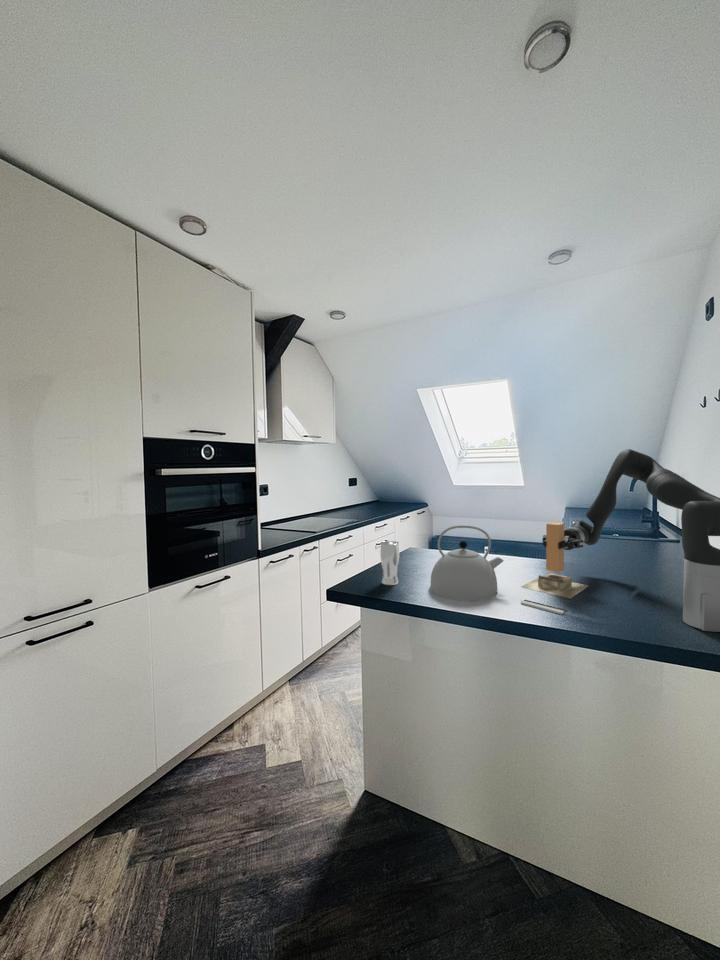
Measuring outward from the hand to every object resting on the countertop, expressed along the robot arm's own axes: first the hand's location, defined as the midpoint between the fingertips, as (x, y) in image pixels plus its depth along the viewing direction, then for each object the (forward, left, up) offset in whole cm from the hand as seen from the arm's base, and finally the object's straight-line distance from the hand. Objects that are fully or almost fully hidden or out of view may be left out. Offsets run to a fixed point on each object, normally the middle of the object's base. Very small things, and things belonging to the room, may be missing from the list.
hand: (552, 544), depth 130 cm
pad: (-13, +4, -16) cm, 21 cm away
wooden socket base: (+2, -2, -16) cm, 16 cm away
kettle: (-4, +28, -16) cm, 33 cm away
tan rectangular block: (+2, -2, -9) cm, 9 cm away
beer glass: (-2, +55, -16) cm, 58 cm away
